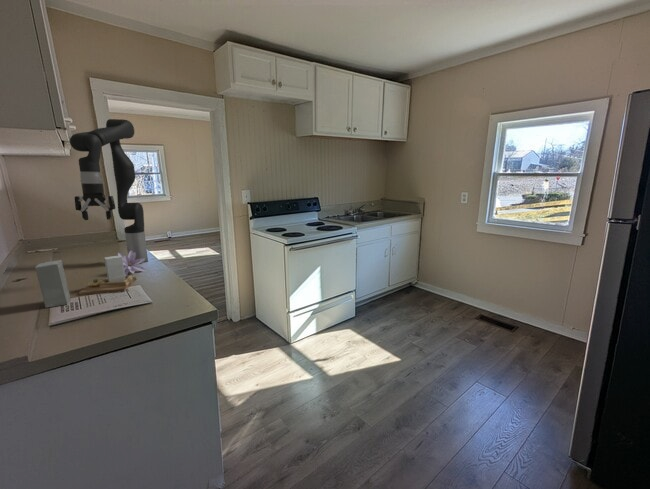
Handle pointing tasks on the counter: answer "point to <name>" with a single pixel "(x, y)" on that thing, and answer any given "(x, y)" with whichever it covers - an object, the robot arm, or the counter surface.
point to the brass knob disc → (94, 283)
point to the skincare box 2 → (114, 268)
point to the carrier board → (109, 286)
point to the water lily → (131, 262)
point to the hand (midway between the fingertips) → (97, 219)
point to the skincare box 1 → (53, 283)
